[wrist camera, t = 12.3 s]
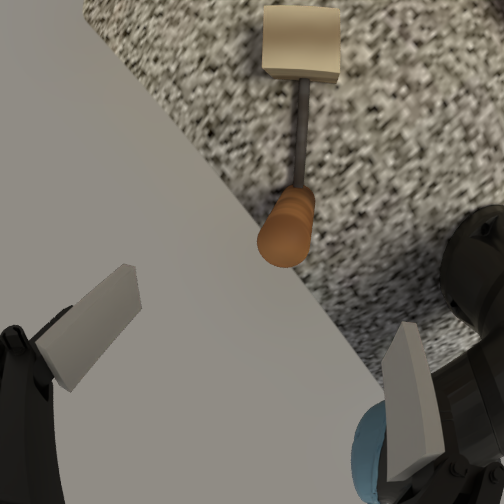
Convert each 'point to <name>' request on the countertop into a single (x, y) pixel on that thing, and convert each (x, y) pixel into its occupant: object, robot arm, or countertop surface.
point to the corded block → (305, 70)
